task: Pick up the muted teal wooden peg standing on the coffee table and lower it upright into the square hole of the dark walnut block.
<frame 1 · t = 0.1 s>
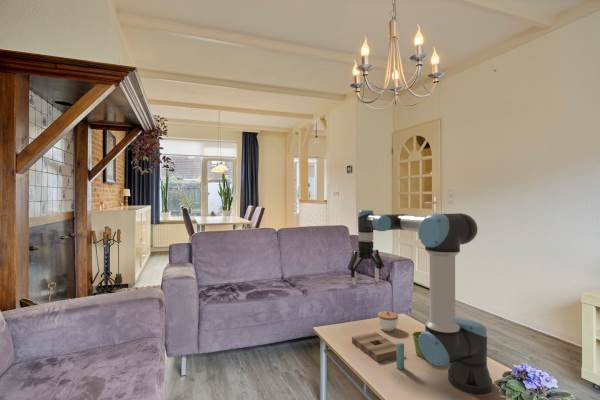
hand: (365, 282, 164), 28 cm above the table, tool pointing down, fingers open, 13 cm apart
plant pot: (423, 355, 147), on the table
peg: (400, 367, 135), on the table
hole block: (376, 349, 152), on the table
lidded jar: (387, 329, 176), on the table
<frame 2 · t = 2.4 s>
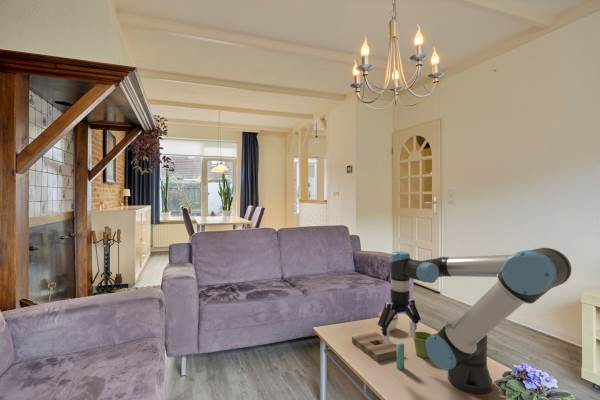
hand: (399, 340, 136), 11 cm above the table, tool pointing down, fingers open, 13 cm apart
nothing on the table moved.
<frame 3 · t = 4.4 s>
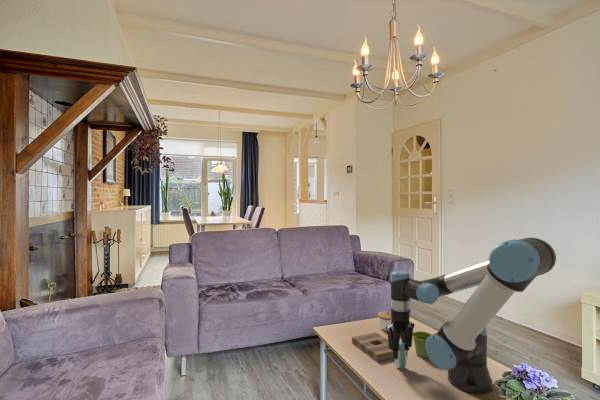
hand: (400, 365, 135), 1 cm above the table, tool pointing down, fingers closed on peg, 2 cm apart
peg: (400, 367, 135), on the table, touching gripper
everything else where it was.
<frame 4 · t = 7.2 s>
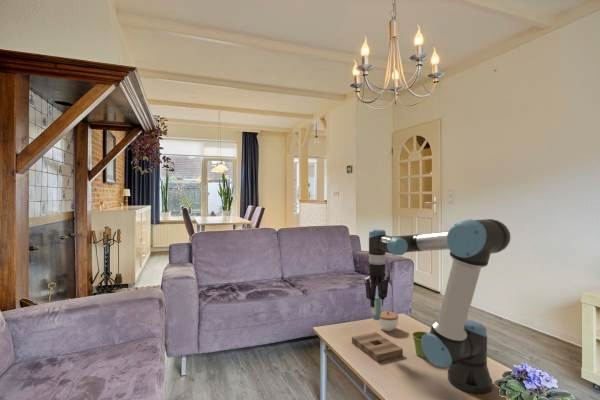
hand: (376, 313, 152), 17 cm above the table, tool pointing down, fingers closed on peg, 2 cm apart
peg: (376, 319, 152), point 14 cm above the table, touching gripper
everything else where it was.
when the fingers open (5 cm above the table, at t = 10.0 s): peg drops 2 cm, resting in hole block.
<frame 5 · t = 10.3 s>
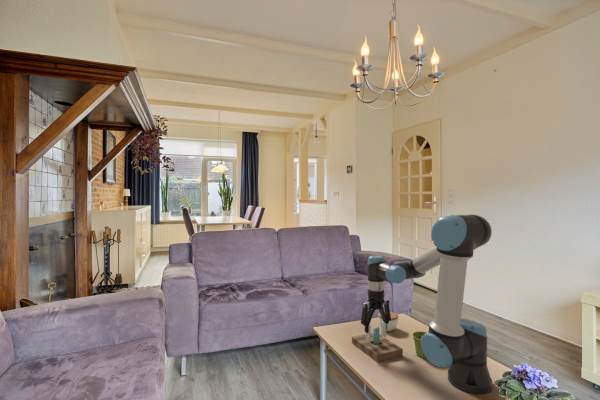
hand: (376, 337, 152), 5 cm above the table, tool pointing down, fingers open, 8 cm apart
peg: (376, 349, 152), resting in hole block
everything else where it was.
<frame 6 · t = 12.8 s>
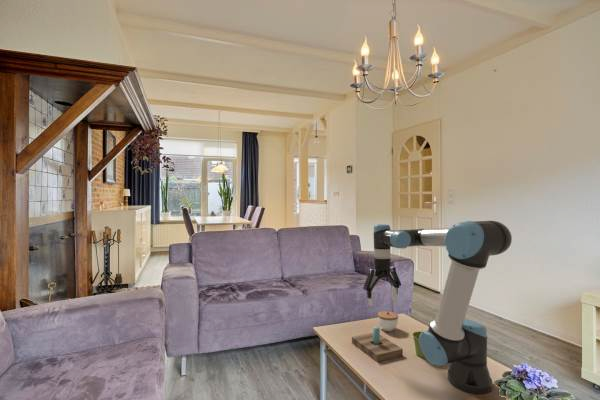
hand: (382, 303, 152), 21 cm above the table, tool pointing down, fingers open, 13 cm apart
nothing on the table moved.
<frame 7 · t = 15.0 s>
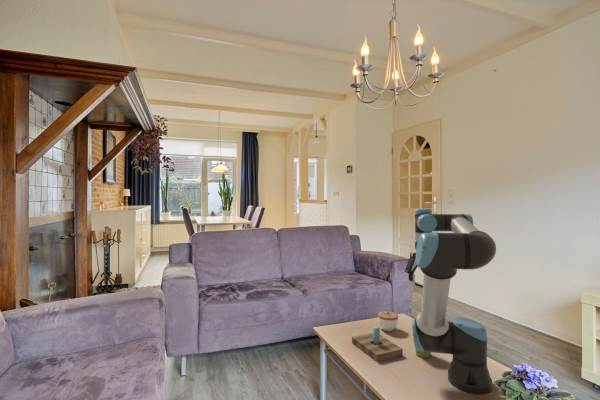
hand: (423, 286, 154), 29 cm above the table, tool pointing down, fingers open, 13 cm apart
nothing on the table moved.
at the end: peg 0.1 cm off-centre on the hole block, point 0.0 cm above the hole block's base; peg tilted 0°; the gripper is holding nothing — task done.
